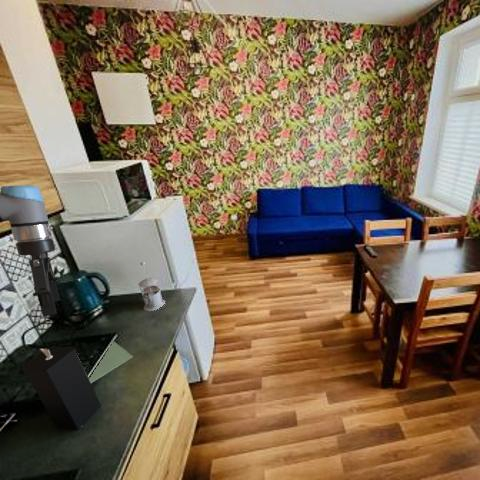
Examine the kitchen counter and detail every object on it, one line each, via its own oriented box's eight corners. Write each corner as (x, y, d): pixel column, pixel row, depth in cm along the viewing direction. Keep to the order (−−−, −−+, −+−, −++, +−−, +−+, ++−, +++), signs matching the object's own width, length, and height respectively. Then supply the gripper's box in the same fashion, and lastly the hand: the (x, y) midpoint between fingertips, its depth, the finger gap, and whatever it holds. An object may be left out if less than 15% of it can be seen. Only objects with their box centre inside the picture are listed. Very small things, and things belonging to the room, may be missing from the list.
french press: (151, 313, 130) (138, 268, 120) (137, 307, 135) (122, 263, 125) (169, 302, 138) (158, 259, 129) (155, 296, 143) (143, 255, 133)
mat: (54, 367, 101) (54, 366, 101) (109, 337, 115) (108, 337, 115) (77, 392, 91) (76, 391, 91) (133, 356, 106) (132, 356, 105)
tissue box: (80, 402, 88) (47, 336, 77) (102, 406, 87) (71, 339, 76) (56, 427, 81) (15, 358, 70) (78, 431, 80) (41, 361, 69)
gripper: (48, 242, 70) (66, 316, 74) (56, 233, 89) (70, 293, 93) (5, 247, 65) (27, 326, 69) (23, 237, 84) (40, 300, 88)
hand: (52, 307), depth 81 cm, fingers open, 13 cm apart
